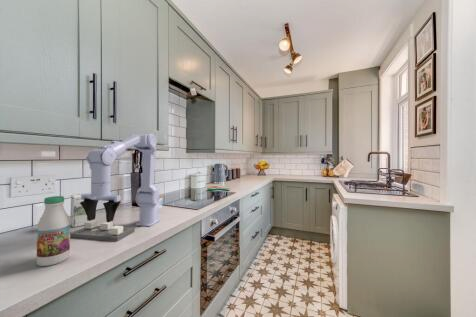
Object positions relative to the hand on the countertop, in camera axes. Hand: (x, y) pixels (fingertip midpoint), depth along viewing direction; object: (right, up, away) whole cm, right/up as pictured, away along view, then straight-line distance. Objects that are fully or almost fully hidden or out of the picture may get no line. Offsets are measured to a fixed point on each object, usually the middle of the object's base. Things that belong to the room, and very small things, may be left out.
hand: (100, 220), depth 71 cm
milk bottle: (-9, -10, -8) cm, 16 cm away
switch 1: (-16, -8, +16) cm, 24 cm away
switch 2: (-8, -8, +15) cm, 19 cm away
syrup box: (-27, -10, +24) cm, 37 cm away
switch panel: (-8, -10, +13) cm, 18 cm away
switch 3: (0, -8, +10) cm, 13 cm away
